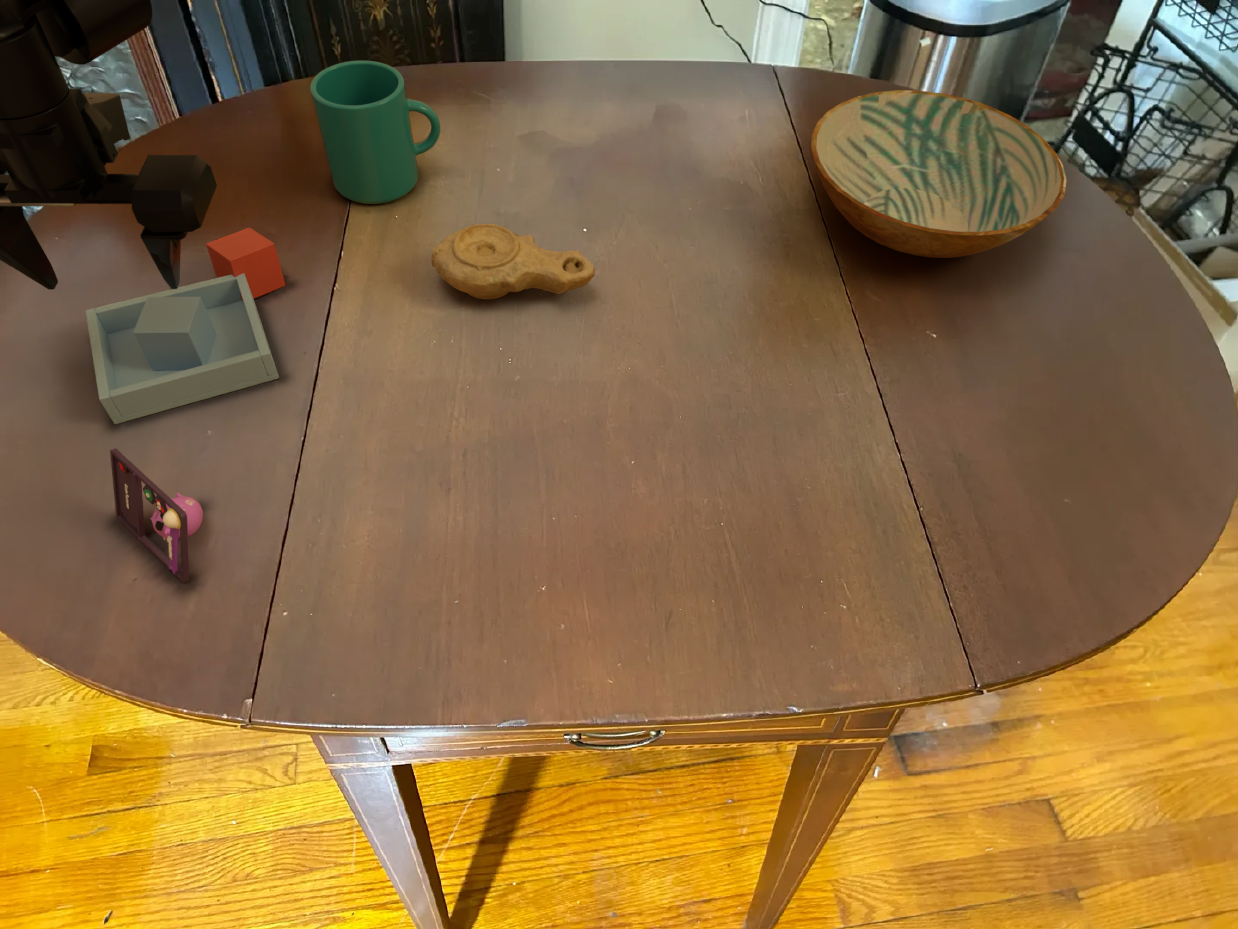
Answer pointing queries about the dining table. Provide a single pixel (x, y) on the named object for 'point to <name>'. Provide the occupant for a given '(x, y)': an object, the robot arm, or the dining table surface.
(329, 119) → the cup
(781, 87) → the dining table surface
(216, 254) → the red block
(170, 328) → the gray block
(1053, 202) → the bowl
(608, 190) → the dining table surface
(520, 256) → the oil lamp
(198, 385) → the gray tray
